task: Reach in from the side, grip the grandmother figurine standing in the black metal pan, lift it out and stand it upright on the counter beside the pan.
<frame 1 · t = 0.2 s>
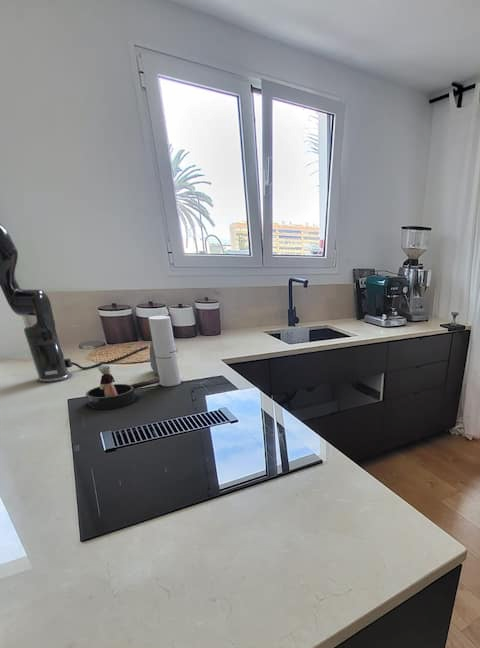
grandmother figurine: (112, 400, 132), resting on pan
pan: (112, 401, 133), on the counter
cylindrical container: (170, 383, 151), on the counter
decorative rock: (163, 374, 162), on the counter
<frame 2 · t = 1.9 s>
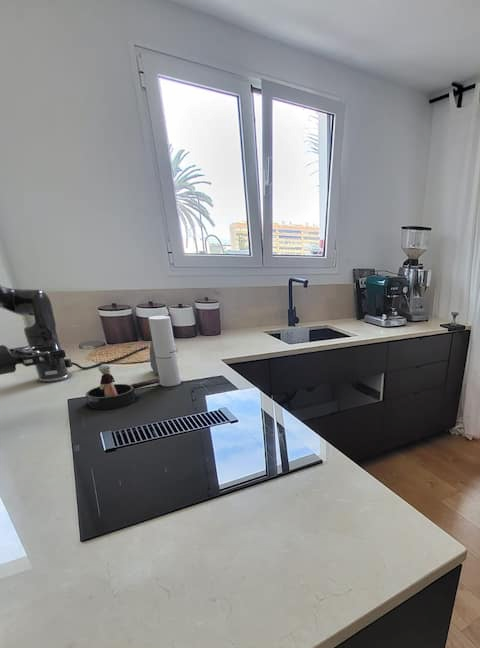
hand: (58, 350, 116), 20 cm above the counter, tool horizontal, fingers open, 8 cm apart
nothing on the counter moved.
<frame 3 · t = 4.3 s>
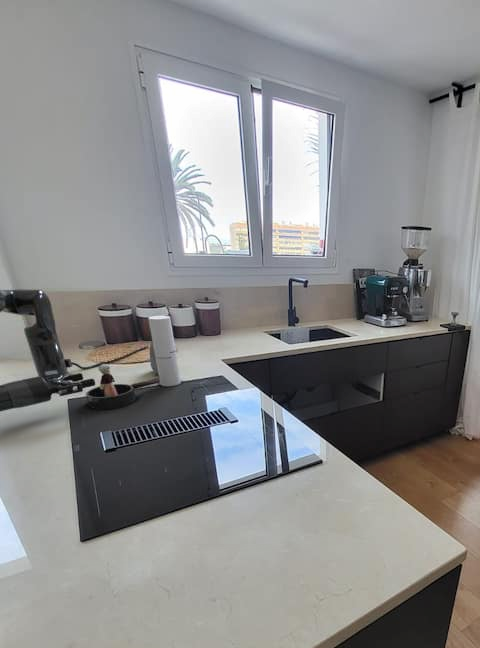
hand: (88, 378, 125), 9 cm above the counter, tool horizontal, fingers open, 8 cm apart
nothing on the counter moved.
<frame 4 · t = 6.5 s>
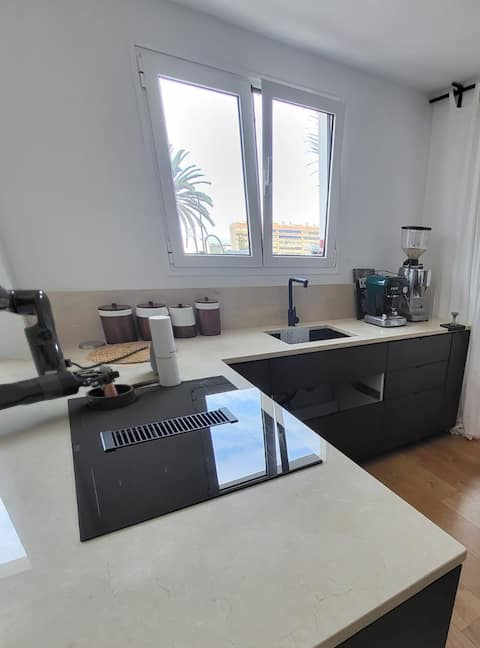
hand: (115, 372, 131), 10 cm above the counter, tool horizontal, fingers closed on grandmother figurine, 3 cm apart
grandmother figurine: (112, 400, 132), resting on pan, touching gripper
everything else where it was.
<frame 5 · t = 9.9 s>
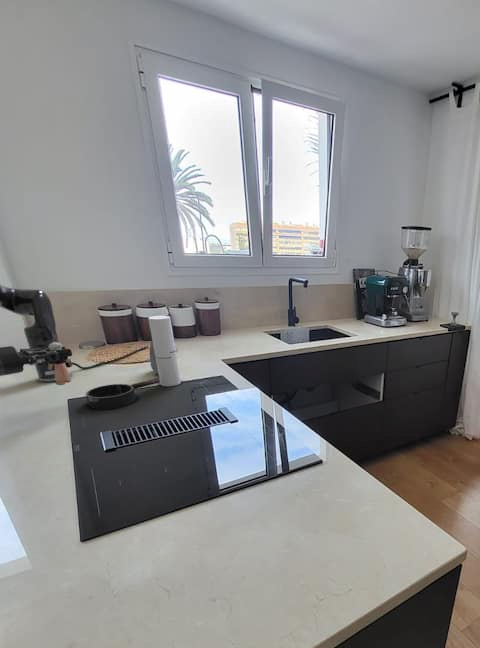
hand: (68, 351, 120), 19 cm above the counter, tool horizontal, fingers closed on grandmother figurine, 3 cm apart
grandmother figurine: (64, 382, 122), point 9 cm above the counter, touching gripper
everything else where it was.
when the fingers open (9 cm above the counter, at t = 13.1 s): grandmother figurine stays where it is, on the counter.
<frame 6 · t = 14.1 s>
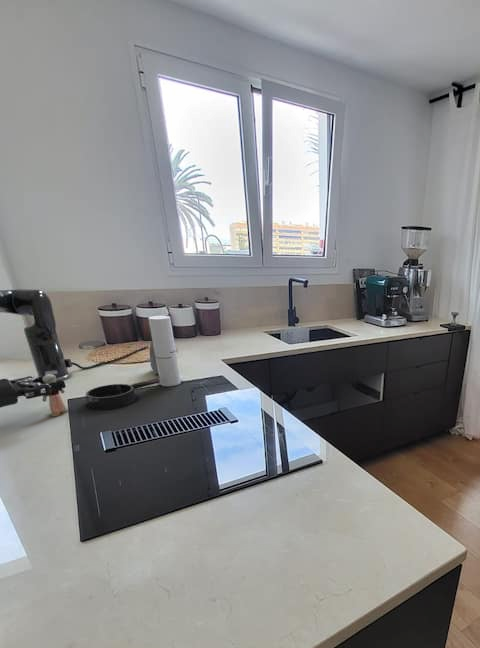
hand: (58, 381, 121), 10 cm above the counter, tool horizontal, fingers open, 8 cm apart
grandmother figurine: (60, 413, 123), on the counter
everything else where it was.
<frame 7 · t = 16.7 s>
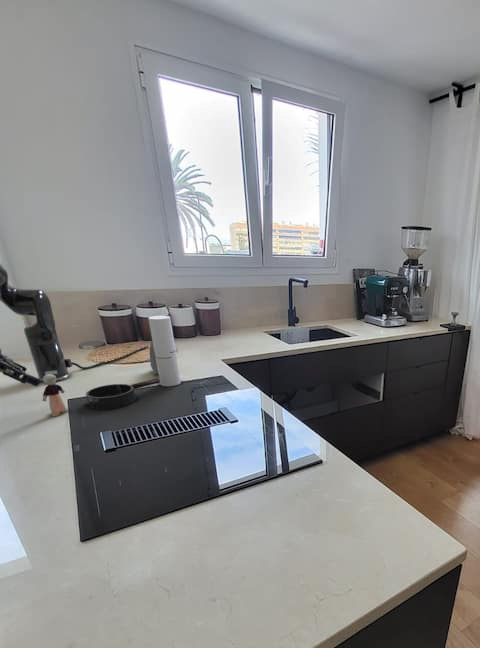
hand: (31, 377, 116), 12 cm above the counter, tool tilted 45°, fingers open, 8 cm apart
nothing on the counter moved.
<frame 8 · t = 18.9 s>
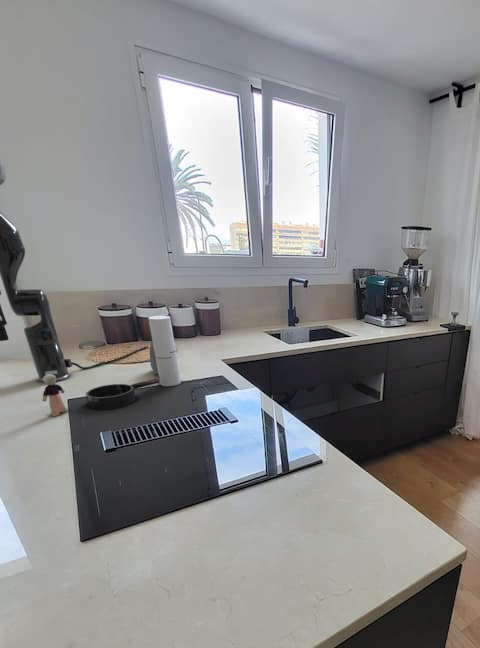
nothing on the counter moved.
at the end: grandmother figurine inside the target area (0.3 cm from its centre), on the counter; grandmother figurine tilted 0°; the gripper is holding nothing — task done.
